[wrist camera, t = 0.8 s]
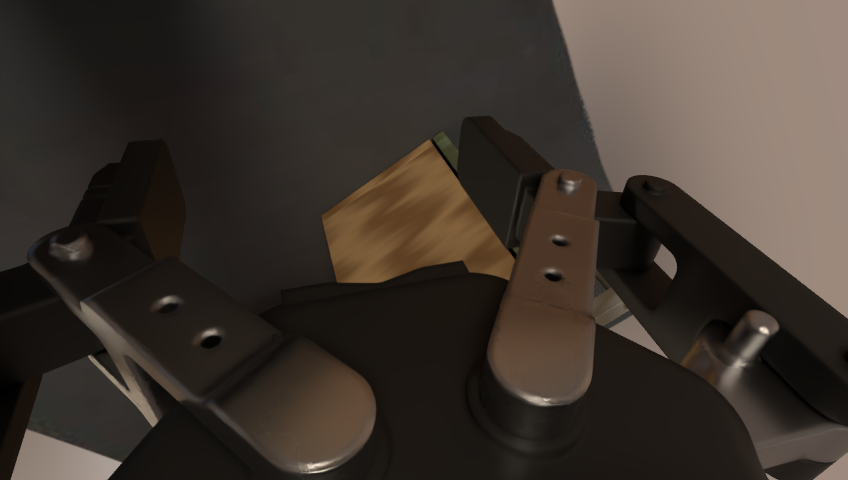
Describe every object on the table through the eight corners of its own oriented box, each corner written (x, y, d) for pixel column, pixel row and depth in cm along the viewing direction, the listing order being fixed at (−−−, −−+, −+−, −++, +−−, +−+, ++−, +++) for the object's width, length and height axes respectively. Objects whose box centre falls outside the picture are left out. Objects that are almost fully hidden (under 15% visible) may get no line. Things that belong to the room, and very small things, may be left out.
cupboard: (429, 138, 37) (536, 290, 23) (501, 249, 47) (604, 397, 34) (320, 215, 38) (364, 400, 25) (415, 306, 49) (481, 470, 35)
